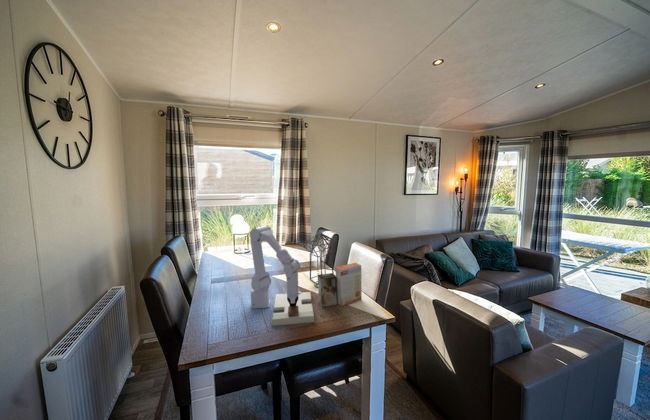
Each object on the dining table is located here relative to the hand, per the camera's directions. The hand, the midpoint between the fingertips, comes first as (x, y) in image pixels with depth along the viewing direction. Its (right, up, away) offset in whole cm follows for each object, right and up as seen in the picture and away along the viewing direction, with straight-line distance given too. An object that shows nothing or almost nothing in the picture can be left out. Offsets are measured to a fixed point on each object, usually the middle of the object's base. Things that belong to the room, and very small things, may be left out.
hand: (293, 309), depth 125 cm
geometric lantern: (+14, +2, +34) cm, 37 cm away
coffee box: (+18, -1, +12) cm, 21 cm away
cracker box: (+30, -1, +13) cm, 32 cm away
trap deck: (-1, -2, +6) cm, 7 cm away
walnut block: (+1, -1, -4) cm, 4 cm away
